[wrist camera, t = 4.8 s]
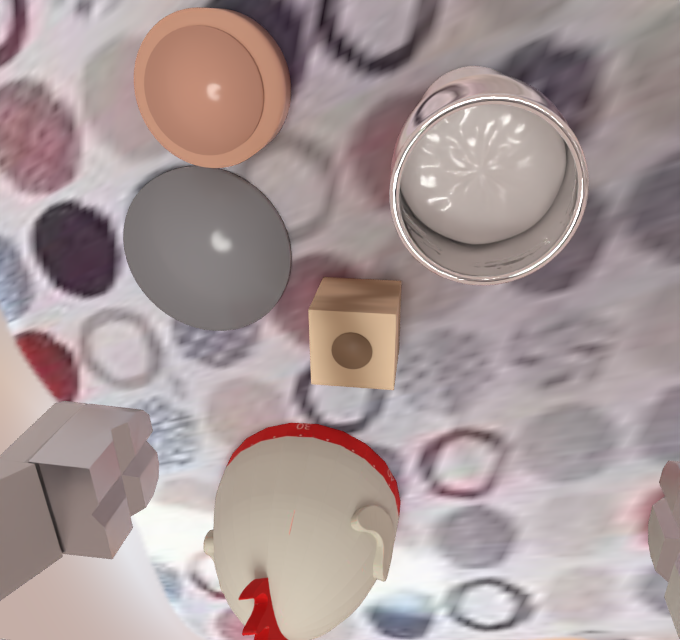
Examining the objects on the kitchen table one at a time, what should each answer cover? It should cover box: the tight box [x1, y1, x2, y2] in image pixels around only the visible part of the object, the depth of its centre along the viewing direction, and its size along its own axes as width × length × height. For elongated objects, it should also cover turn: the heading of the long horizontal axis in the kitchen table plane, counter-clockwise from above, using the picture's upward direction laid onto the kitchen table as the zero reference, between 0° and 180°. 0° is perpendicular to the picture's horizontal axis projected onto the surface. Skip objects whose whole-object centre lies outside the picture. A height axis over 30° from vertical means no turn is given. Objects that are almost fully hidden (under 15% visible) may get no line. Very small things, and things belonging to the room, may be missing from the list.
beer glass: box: [389, 66, 589, 285], centre depth 27 cm, size 7×7×15 cm
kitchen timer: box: [204, 423, 400, 640], centre depth 41 cm, size 14×14×15 cm
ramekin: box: [134, 8, 291, 168], centre depth 34 cm, size 8×8×4 cm
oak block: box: [308, 277, 401, 390], centre depth 38 cm, size 5×5×5 cm
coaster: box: [123, 166, 291, 331], centre depth 39 cm, size 11×11×1 cm
